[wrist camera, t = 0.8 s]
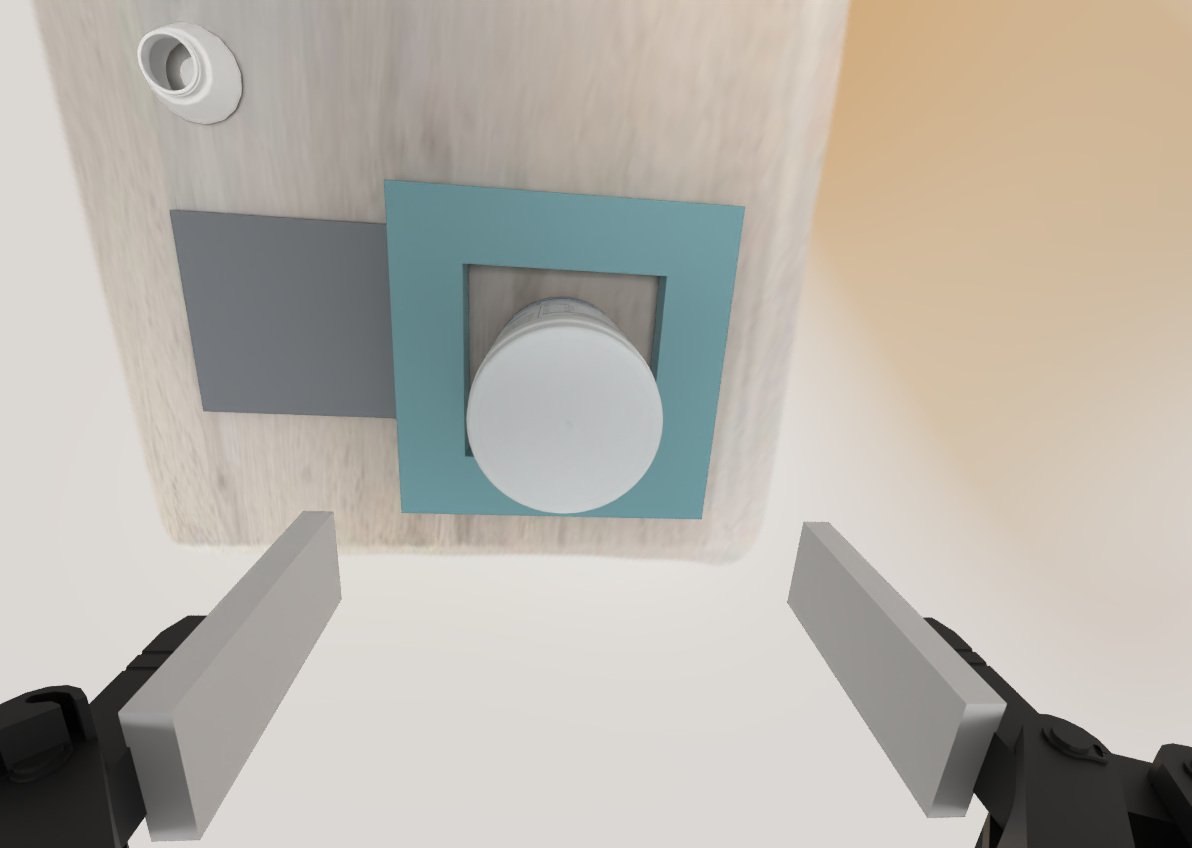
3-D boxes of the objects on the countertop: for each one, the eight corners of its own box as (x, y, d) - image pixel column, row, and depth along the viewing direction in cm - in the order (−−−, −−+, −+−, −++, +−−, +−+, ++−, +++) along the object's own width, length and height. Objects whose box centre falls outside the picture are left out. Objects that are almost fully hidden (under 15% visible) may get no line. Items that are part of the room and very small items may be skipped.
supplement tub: (606, 438, 42) (634, 539, 28) (481, 409, 40) (444, 500, 26) (643, 312, 39) (694, 354, 25) (510, 276, 37) (485, 300, 23)
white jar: (263, 89, 33) (196, 7, 31) (236, 75, 30) (161, -15, 29) (204, 142, 34) (135, 65, 32) (172, 134, 31) (95, 48, 29)
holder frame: (395, 183, 35) (384, 179, 33) (732, 208, 37) (745, 206, 35) (410, 497, 42) (401, 512, 39) (693, 504, 44) (701, 519, 42)
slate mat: (175, 210, 34) (169, 209, 34) (389, 224, 36) (386, 224, 35) (208, 408, 39) (203, 411, 38) (399, 415, 40) (397, 418, 39)
